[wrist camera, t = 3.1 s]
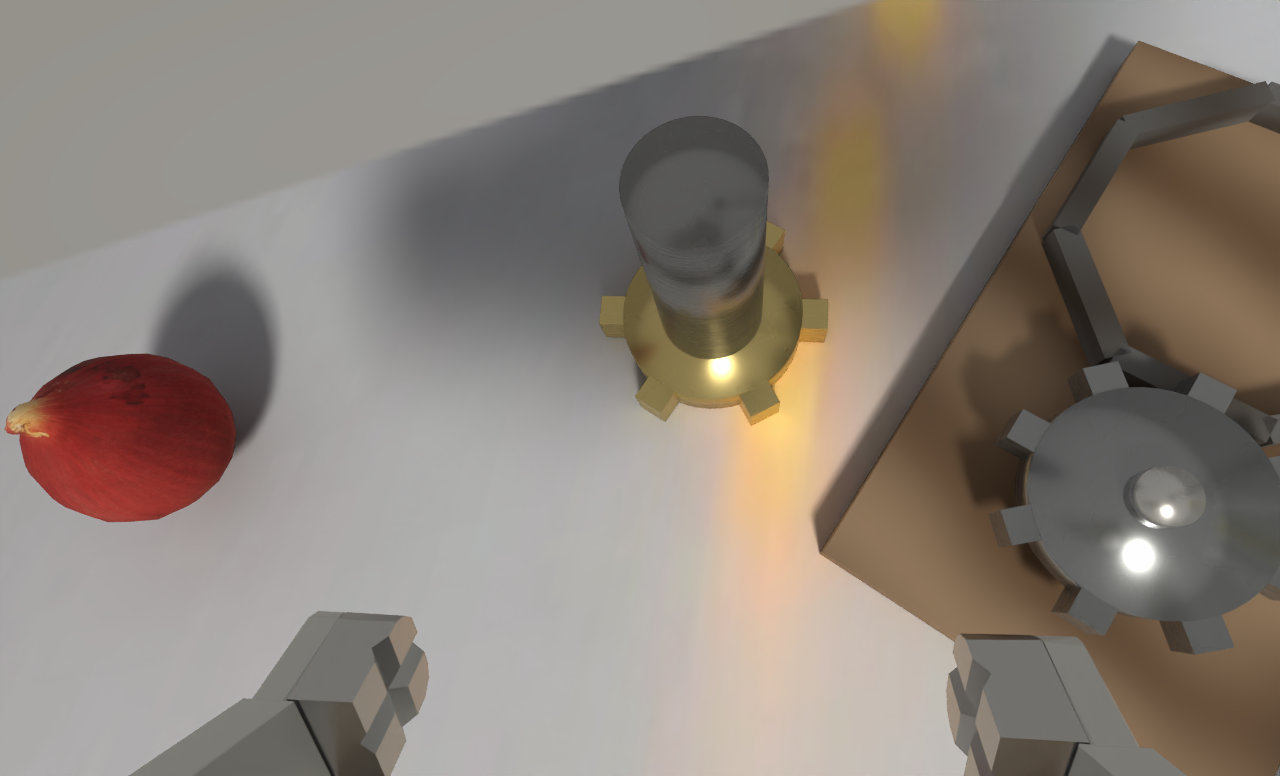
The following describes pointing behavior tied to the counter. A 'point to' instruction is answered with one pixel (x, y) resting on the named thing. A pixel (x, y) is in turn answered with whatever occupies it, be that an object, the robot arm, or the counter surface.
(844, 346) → the counter surface
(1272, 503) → the gear
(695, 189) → the gear
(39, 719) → the counter surface
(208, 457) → the onion
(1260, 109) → the gear board
